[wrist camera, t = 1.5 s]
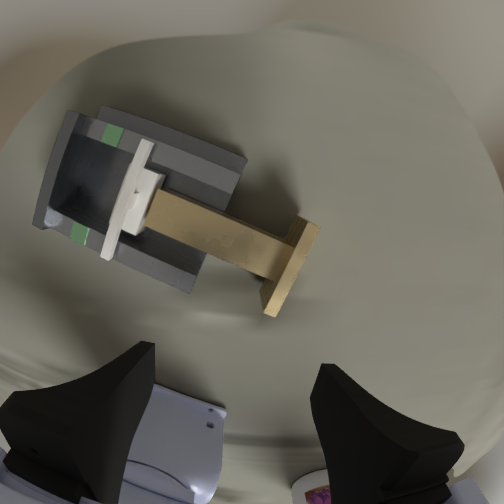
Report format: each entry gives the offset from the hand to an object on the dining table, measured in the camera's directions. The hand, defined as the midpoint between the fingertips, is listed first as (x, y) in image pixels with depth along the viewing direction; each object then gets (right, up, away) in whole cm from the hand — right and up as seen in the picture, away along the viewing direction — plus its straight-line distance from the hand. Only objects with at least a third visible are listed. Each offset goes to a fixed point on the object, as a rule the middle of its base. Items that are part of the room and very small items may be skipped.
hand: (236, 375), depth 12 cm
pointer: (-7, +9, +7) cm, 13 cm away
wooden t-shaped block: (-1, +7, +9) cm, 11 cm away
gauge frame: (-7, +9, +8) cm, 14 cm away
